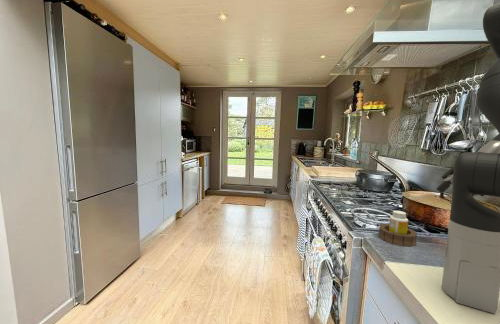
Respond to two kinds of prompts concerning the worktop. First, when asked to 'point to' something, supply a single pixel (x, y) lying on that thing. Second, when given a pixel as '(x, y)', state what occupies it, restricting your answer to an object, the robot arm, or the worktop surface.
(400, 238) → the walnut collar
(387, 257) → the worktop surface
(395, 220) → the supplement bottle
